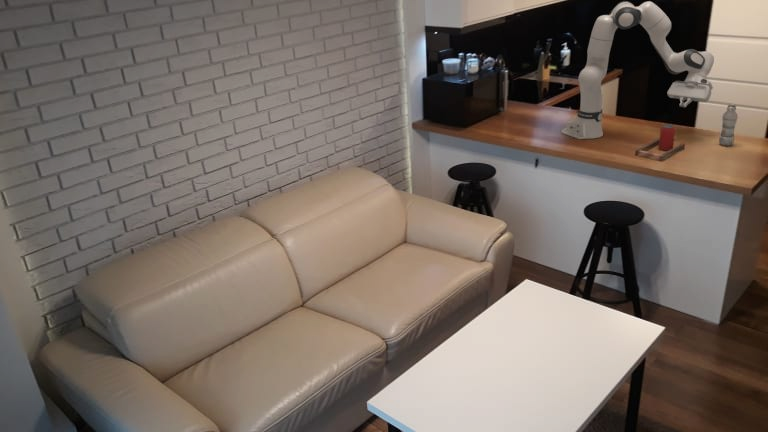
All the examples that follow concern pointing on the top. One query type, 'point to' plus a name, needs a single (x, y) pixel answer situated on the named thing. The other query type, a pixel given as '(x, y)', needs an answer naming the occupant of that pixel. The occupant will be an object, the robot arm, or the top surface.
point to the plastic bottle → (728, 126)
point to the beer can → (666, 137)
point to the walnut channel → (658, 157)
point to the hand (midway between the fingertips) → (682, 106)
